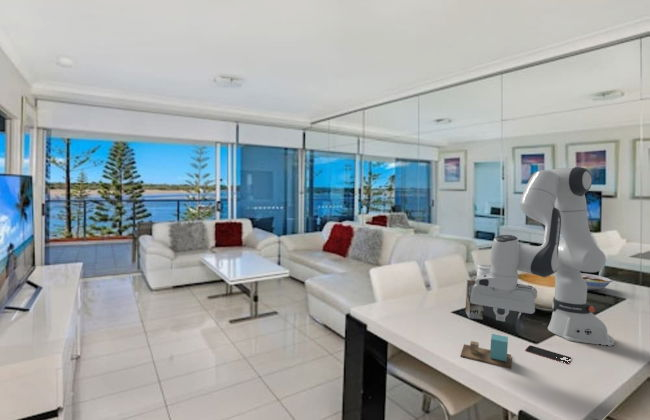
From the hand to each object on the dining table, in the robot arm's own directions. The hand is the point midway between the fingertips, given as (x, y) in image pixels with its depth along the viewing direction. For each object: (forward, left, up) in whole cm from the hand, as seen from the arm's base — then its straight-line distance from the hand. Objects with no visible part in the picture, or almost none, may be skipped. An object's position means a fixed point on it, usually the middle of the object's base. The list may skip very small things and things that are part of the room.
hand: (500, 320), depth 123 cm
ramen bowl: (-45, -132, -14) cm, 140 cm away
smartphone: (-16, -14, -15) cm, 26 cm away
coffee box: (+12, -42, -14) cm, 46 cm away
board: (+4, 0, -14) cm, 15 cm away
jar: (+10, -90, -14) cm, 92 cm away
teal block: (0, 0, -13) cm, 13 cm away
